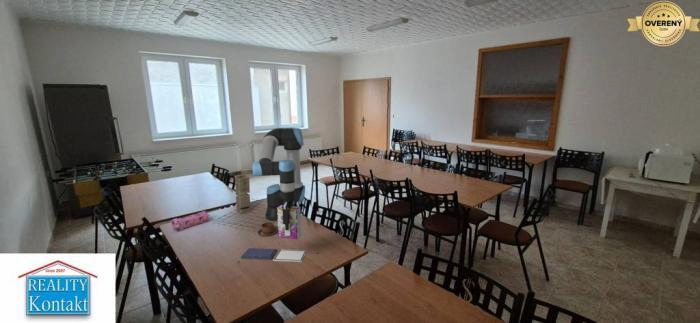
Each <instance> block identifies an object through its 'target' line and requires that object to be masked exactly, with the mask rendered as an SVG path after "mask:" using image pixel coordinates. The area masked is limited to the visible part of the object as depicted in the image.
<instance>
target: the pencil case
mask: <svg viewBox="0 0 700 323" xmlns="http://www.w3.org/2000/svg"><path fill="white" fill-rule="evenodd" d="M209 216H210V215H209V214H208V212H207V211H206V210H202V211H200V212H198V213H195V214H191V215H188V216H185V217H183V218H182V217H181V218H173V219H172V220H171V226H172V229H173V230H174V231H175V232H176V233H177V232H180V231H183V230H186V229H188V228H192V227H194V226H196V225H201V224H204V223H205V224H206V223H208V222H209V221H210V218H209Z"/></svg>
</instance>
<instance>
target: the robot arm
mask: <svg viewBox="0 0 700 323" xmlns="http://www.w3.org/2000/svg"><path fill="white" fill-rule="evenodd" d="M304 145H305V144H304V137H303V131H302V129H301V128H299V127H282V128H281V127H277V128H273V129H271V130H269V131H268V132H267V133H266V134H265V135H264V136H263V138H262V149H261V152H260V156H259V158H258V161H255V162H253V163H252V167H251V168H252V173H253V174H252V175H253V176H256V177H263V176H265V177H266V176H267V177H268V176H279V183H275V184H271V185H269V186H268V187H267V188H266V204H267V207H266V211H265V216H264V218H265V219H266V220H267V221H274V222H275V221H278V218H277V207H279V206H281V205H282V210H283V224H285V236H290V235H291V233H290V223H289V220H290V215H289V211H290V209H291V206H295V203H302V202H304V201H305V196H306V195H305V194H306V192H305V191H306V185H304V183H303V182H302V181H301V180H302V176H301V157H300V150H301V149H302V147H303V146H304ZM278 147H283V150H285V151H286V159H283V160H279V161H277V160H275V161H274V158H275V153H276V148H278ZM288 208H289V209H288Z"/></svg>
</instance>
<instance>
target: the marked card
mask: <svg viewBox="0 0 700 323" xmlns="http://www.w3.org/2000/svg"><path fill="white" fill-rule="evenodd" d="M306 253H307V249H282V248H280V249H279V251H278V252H276V255H275V256H274V258H272V259H273V260H272V261H273V262H293V263H294V262H297V263H302V262H303V260H304V258H305V255H306Z"/></svg>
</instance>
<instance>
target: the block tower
mask: <svg viewBox="0 0 700 323" xmlns="http://www.w3.org/2000/svg"><path fill="white" fill-rule="evenodd" d="M234 184H235V185H234V186H235V195H236V196H235V205H236V212H237V213H239V214H240V215H241V214H247V213H249V212H251V209H252V208H251V207H250V206H251V195H250V194H249V193H251V191H250V188H251V187H250V186H251V185H250V176H249V177H248V176H247V175H246V174H244V173H242V174H237V175H236V174H235V175H234Z"/></svg>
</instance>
